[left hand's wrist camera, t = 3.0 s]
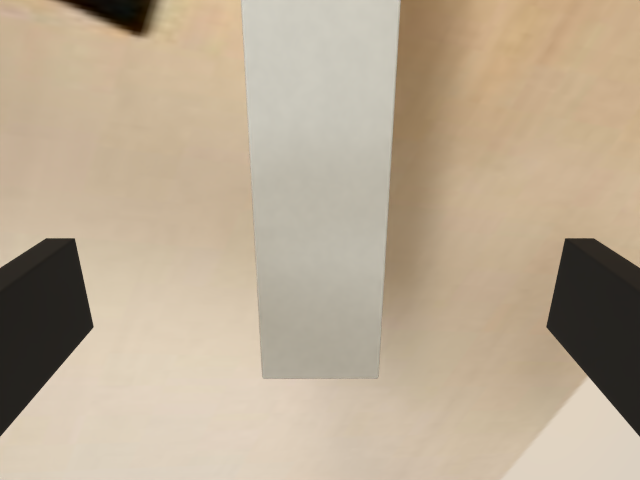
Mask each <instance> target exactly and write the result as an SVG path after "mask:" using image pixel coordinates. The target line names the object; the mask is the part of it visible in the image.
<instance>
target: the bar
mask: <svg viewBox="0 0 640 480" xmlns="http://www.w3.org/2000/svg"><path fill="white" fill-rule="evenodd" d="M400 4H401V0H241V9H242V26H243V44H244V62H245V80H246V97H247V115H248V133H249V151H250V169H251V186H252V204H253V222H254V240H255V257H256V275H257V293H258V311H259V329H260V346H261V364H262V377H263V378H264V379H377V378H378V377H379V362H380V345H381V327H382V310H383V293H384V276H385V259H386V242H387V225H388V208H389V191H390V174H391V157H392V140H393V123H394V106H395V89H396V72H397V55H398V38H399V21H400Z"/></svg>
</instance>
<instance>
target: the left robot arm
mask: <svg viewBox="0 0 640 480" xmlns="http://www.w3.org/2000/svg"><path fill="white" fill-rule="evenodd" d="M92 328H93V322H92V317H91V313H90V308H89V303H88V299H87V294H86V289H85V284H84V280H83V275H82V270H81V266H80V261H79V256H78V251H77V247H76V242H75V238H46V239H45V240H43V241H41V242H40V243H38V244H37V245H35V246H34V247H32V248H31V249H29V250H27V251H26V252H24V253H23V254H21V255H20V256H18V257H17V258H15V259H14V260H12V261H10V262H9V263H7V264H6V265H4V266H3V267H1V268H0V436H1V435H2V434H3V433H4V432H5V430H6V429H7V428H8V427H9V426H10V425H11V423H12V422H13V421H14V420H15V419H16V417H17V416H18V415H19V414H20V413H21V412H22V410H23V409H24V408H25V407H26V406H27V405H28V403H29V402H30V401H31V400H32V399H33V398H34V396H35V395H36V394H37V393H38V392H39V391H40V389H41V388H42V387H43V386H44V385H45V383H46V382H47V381H48V380H49V379H50V378H51V376H52V375H53V374H54V373H55V372H56V371H57V369H58V368H59V367H60V366H61V365H62V364H63V362H64V361H65V360H66V359H67V358H68V357H69V355H70V354H71V353H72V352H73V351H74V349H75V348H76V347H77V346H78V345H79V344H80V342H81V341H82V340H83V339H84V338H85V337H86V335H87V334H88V333H89V332H90V331H91V330H92ZM547 328H548V330H549V331H550V332H551V333H552V334H553V335H554V337H555V338H556V339H557V340H558V341H559V342H560V344H561V345H562V346H563V347H564V348H565V349H566V351H567V352H568V353H569V354H570V355H571V357H572V358H573V359H574V360H575V361H576V362H577V364H578V365H579V366H580V367H581V368H582V369H583V371H584V372H585V373H586V374H587V375H588V376H589V378H590V379H591V380H592V381H593V382H594V383H595V385H596V386H597V387H598V388H599V389H600V391H601V392H602V393H603V394H604V395H605V396H606V398H607V399H608V400H609V401H610V402H611V403H612V405H613V406H614V407H615V408H616V409H617V410H618V412H619V413H620V414H621V415H622V416H623V417H624V419H625V420H626V421H627V422H628V423H629V424H630V426H631V427H632V428H633V429H634V430H635V432H636V433H637V434H638V435H639V436H640V268H639V267H637V266H636V265H634V264H633V263H631V262H630V261H628V260H626V259H625V258H623V257H622V256H620V255H619V254H617V253H616V252H614V251H613V250H611V249H609V248H608V247H606V246H605V245H603V244H602V243H600V242H599V241H597V240H595V239H594V238H565V242H564V247H563V251H562V256H561V261H560V266H559V270H558V275H557V280H556V284H555V289H554V294H553V299H552V303H551V308H550V313H549V317H548V322H547Z"/></svg>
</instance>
